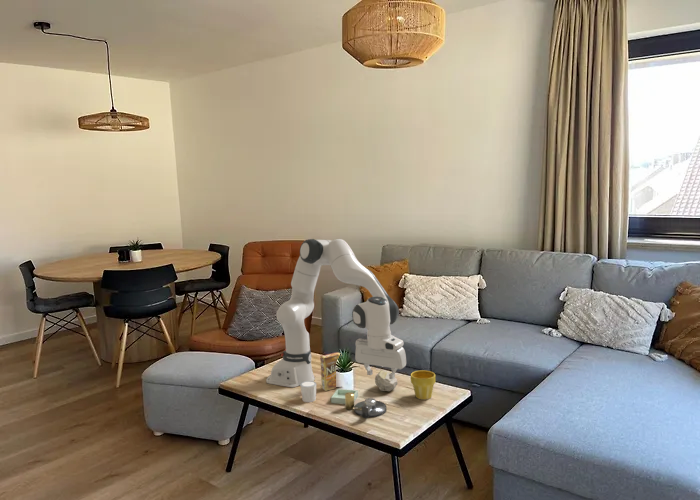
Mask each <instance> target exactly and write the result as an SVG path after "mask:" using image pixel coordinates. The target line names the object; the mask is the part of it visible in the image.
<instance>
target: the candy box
mask: <svg viewBox="0 0 700 500" xmlns="http://www.w3.org/2000/svg"><path fill="white" fill-rule="evenodd" d="M340 354H341V353H340V352H338V351H337V352H332V353H328V354H323V355H320V374H321V375H320V376H321V389H323V391H325V392H328V391H330V390H334V389H335V390H337V388H336V362H337V359H338V358H339V356H340Z"/></svg>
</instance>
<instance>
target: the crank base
mask: <svg viewBox="0 0 700 500" xmlns="http://www.w3.org/2000/svg"><path fill="white" fill-rule="evenodd" d="M363 405H365V400H363V401H359V402H357V403H356V404H354V408H353V411H354V413H355V414H356V415H357V416H360V417H362V406H363ZM387 408H388V407H387V404H386V403H384V402H382V401H380V400H379V401H378V400H376V408H374V409H372V410H371V412H370V414H369V417H368V418H376V417H380V416H383V415H384V414H386V412H387Z"/></svg>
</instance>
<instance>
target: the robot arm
mask: <svg viewBox="0 0 700 500" xmlns="http://www.w3.org/2000/svg"><path fill="white" fill-rule="evenodd" d="M322 266H330V267H331V270H332V272H333V274H334V276H335V278H336V279H337V280H338V281H340V282H341V283H344V284H348V285H349V284H350V285H356V286H359V287H362V288H365V289H366V290H368V292H369V294H370V295H371V297H369V298H367V299H366V301H365V302H360V303H358V304H356V305H355V306H354V307H353V309H352V312H351V315H352V316H351V317H352V322H353V324H354V325H355V326H356V327H358V328H360V329H366V330H367V332H366V334H367V335H366V336H367V338H361V337H360V338H358V339H356V340H355V351H354V353H355V356H354V359H355V362H356V363H357V364H358V363H360V364H363V366H364V369H365V371H366V375H367V376H372V375H373V374H374V373H373V369H371V367H370V365H371V366H376V367H377V366H378V367H383V368H391V369H390V370H391V371H392V372H389V373H390V374H389V379H394V378H396V372H397V371H398V370H402V369H404V368H406V366H407V355H406V350H405V348H404V347H403V346H404V340H402V339H400V338H398V337H396V336H394V335H393V334H392V332H391V327H390V325H394V324H395V322H396V321H397V320H398V318H399V315H400V309H399V306H398V304H397V303H396V302H395V301H394V299H393V298H391V297H390V295H389V294H388V293H387V291H386V290H385V288H384V286H383V285H382V284H381V282H380V280H378V278H377V277H376V275H375V274H374V273H373V272H372V270H370V269H369V268H367V267H365V266H364V265H363V264H362V263H360V261H359V259H357V257H356V254H355V253H354V251H353V250H352V248H351V246H350V245H349V244H348V242H346V240H344V239H342V238H337V239H332V240H331V239H314V238H310V239H305V240H304V241H303V242H302V244H301V245H300V248H299V257H298V259H297V261H296V265H295V267H294V272H293V275H292V277H291V282H290V286H291V296H290V299H289V300H287V301H284V302H283V303H282V304H281V305H280V306H279V308H278V309H277V310H276V314H275V315H276V319H277V321H278V323H279V324H281V326H282V329H283V334H284V340H285V349H284V350H283V352H282V353H281V357H282V358H281V359H280V360H278V361H277V362H276V363H275V364H274V365H273V367H272V369H271V373H270V374H269V375H268V377H266V380H265V381H266V384H270V385H275V386H281V387H288V388H296V387H298V386H300V384H301V383H302V382H305V381H314V380H315V379H316V378H315V377H316V376H315V375H314V373H313V367H312V350H311V347H310V345H311V344H310V333H309V332H308V331H307V329H306V326H305V325H306V324H305V319H306V318H309V316H310V315H311V314H312V312H313V311H314V308H315V302H314V300H315V299H314V297H315V296H314V295H315V290H316V286H317V282H318V279H319V276H320V272H321V268H322ZM314 382H315V381H314Z"/></svg>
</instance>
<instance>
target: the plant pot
mask: <svg viewBox="0 0 700 500" xmlns="http://www.w3.org/2000/svg"><path fill="white" fill-rule="evenodd" d="M410 383H411V384H412V388H413V391H414V395H415V398H416V399H419V400H423V401H424V400H429V399H431V398H432V395H433V391H434V390H433V389H434V385H435V384H436V374H435V372H433V371H430V370H423V369H422V370H414V371H412V373H410Z"/></svg>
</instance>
